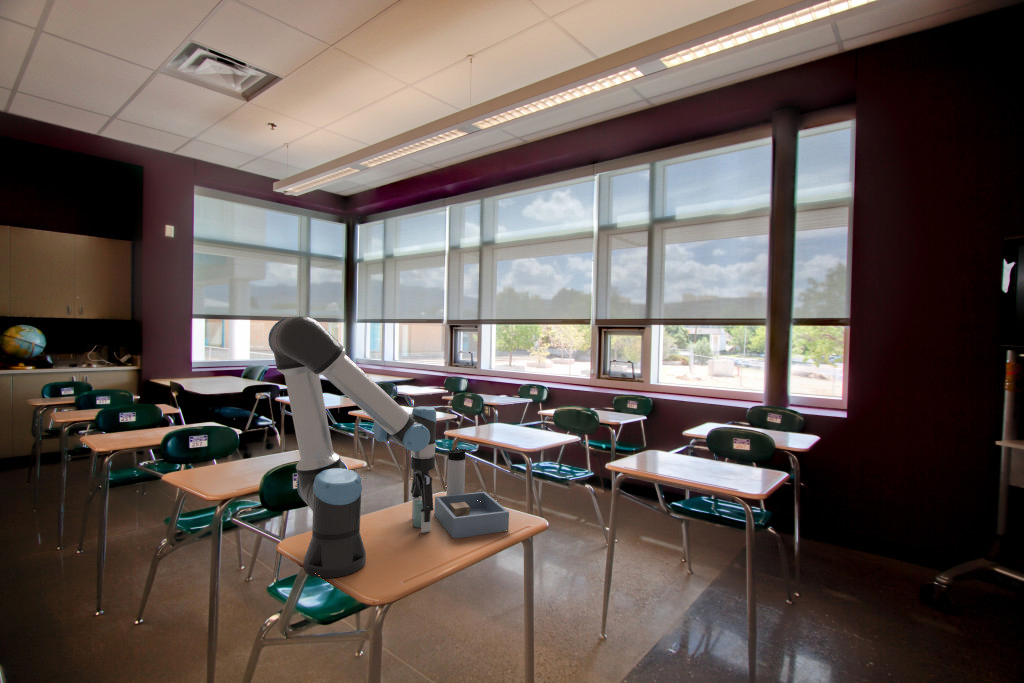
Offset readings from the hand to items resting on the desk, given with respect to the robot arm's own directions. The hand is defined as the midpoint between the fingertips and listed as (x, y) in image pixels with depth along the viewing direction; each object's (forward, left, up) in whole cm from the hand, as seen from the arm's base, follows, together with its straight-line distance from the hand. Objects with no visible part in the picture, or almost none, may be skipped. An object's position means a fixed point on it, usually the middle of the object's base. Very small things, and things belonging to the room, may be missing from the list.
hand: (420, 524), depth 155 cm
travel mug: (+16, +14, 0) cm, 21 cm away
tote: (+15, -3, 0) cm, 16 cm away
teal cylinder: (0, 0, 0) cm, 0 cm away
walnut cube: (+12, -3, +1) cm, 12 cm away
